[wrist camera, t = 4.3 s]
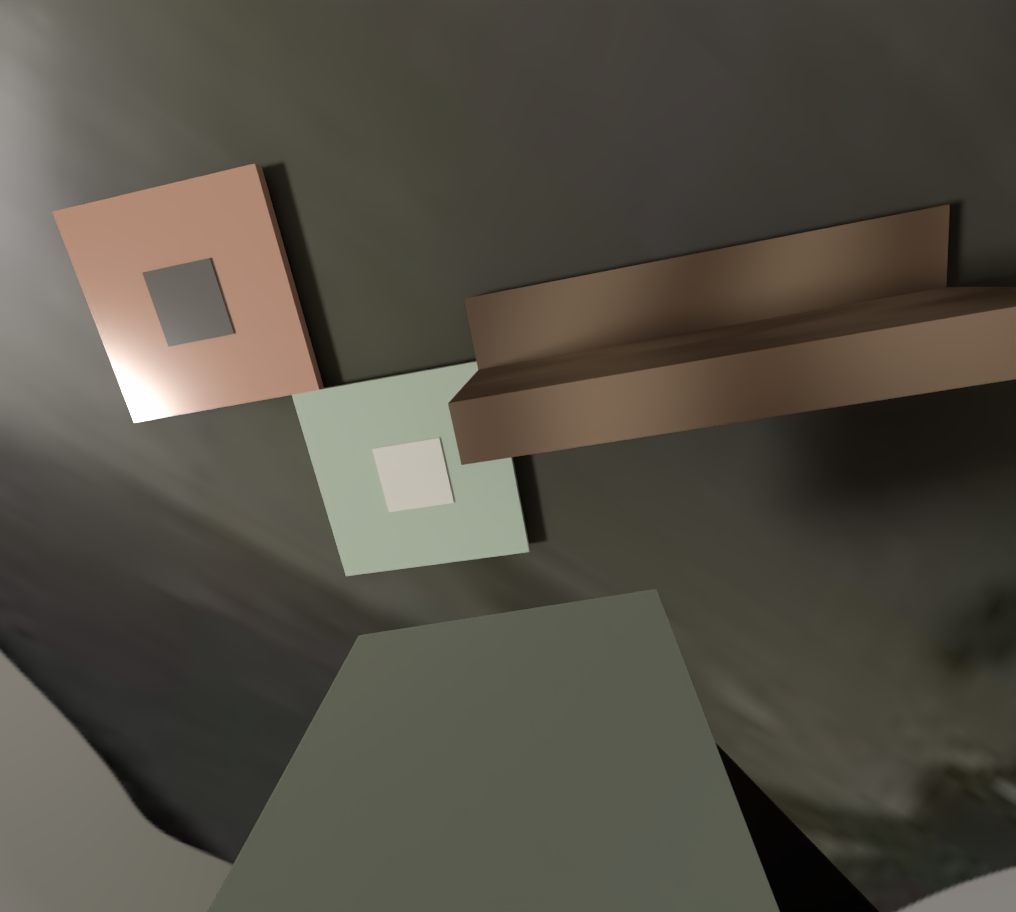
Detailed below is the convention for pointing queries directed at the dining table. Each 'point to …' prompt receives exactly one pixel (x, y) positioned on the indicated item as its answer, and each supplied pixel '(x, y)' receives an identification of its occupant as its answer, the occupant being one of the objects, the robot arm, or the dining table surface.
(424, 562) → the sage pad
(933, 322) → the walnut screen
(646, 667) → the sage block
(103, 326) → the terracotta pad
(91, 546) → the dining table surface
